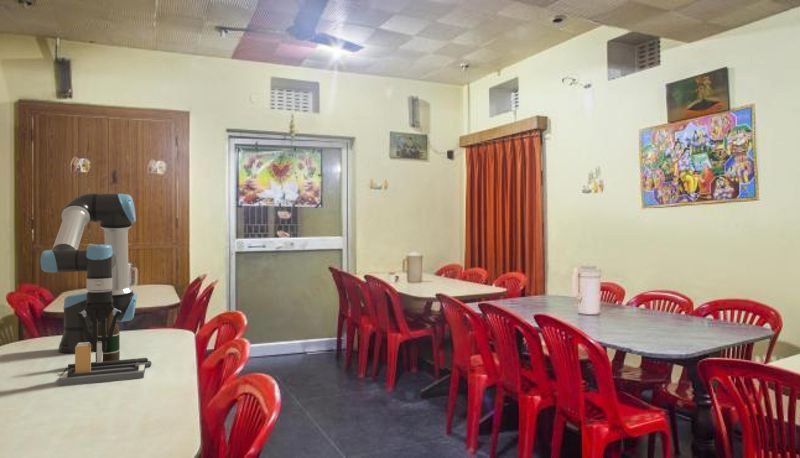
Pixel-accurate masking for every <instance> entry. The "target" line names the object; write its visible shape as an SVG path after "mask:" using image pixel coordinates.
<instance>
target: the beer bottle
mask: <svg viewBox="0 0 800 458" xmlns="http://www.w3.org/2000/svg"><path fill="white" fill-rule="evenodd" d="M112 303H113V299H112ZM113 317H114V316H113V311H112V312H111V313H110V314H109V316H108V317H107V320H106V330H107V336H108V335H109V331H110V328H111V324H112V320H113ZM120 337H121V336H120V327H119V325H118V322H116V326H115V329H114V333H113V337H112V339H111V340H108V341H106V351H105V352H103V361H114V360H120V356H121V355H120V354H121V353H120V352H121V351H120V343H121V342H120ZM98 341H102V322H100V323H98ZM95 362H97V352H95Z"/></svg>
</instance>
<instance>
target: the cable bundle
mask: <svg viewBox="0 0 800 458" xmlns="http://www.w3.org/2000/svg"><path fill="white" fill-rule="evenodd" d="M136 362H139V364H145V368H150V367H152V361H151V360H149V359H148V357H141V358H140V357H138V358H128V359H119V360H114V361H102V362H100V363H97V362H96V361H94V362H93V361H91V368H93V367H105V366H116V365H128V364H136ZM70 368H74V369H75V363H68V365H67V367H65V368H64V369H63V374H64V373H65V372H66V371H68V370H70Z"/></svg>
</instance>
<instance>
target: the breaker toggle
mask: <svg viewBox="0 0 800 458" xmlns="http://www.w3.org/2000/svg"><path fill="white" fill-rule="evenodd" d="M74 357H75V358H74V361H75V362H74V364H75V373H86V372H90V371H91V362H92V351H91V344H89V342H85V343H78V344H77V345H76V347H75V353H74Z"/></svg>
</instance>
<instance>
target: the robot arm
mask: <svg viewBox="0 0 800 458" xmlns="http://www.w3.org/2000/svg"><path fill="white" fill-rule="evenodd" d="M136 218H137V217H136V209H135V205H134V200H133V197H132V196H131V195H130V194H127V193H125V194H124V193H94V192H91V193H90V192H89V193H85V194H82V195H79V196H76V197H75V198H74V199H72V200H71V201H69V202H68V203H67V204H65V206H64V208H63V210H62V212H61V220H62V221H61V224H60V226H59V230H58V233H57V235H56V237H55V241H54V243H53V246H52V249H49V250H48V249H47V250H43V251H42V253H41V255H40V267H41V268H40V269H41V270H42V271H43V272H45V273H55V274H56V273H57V274H58V273H70V272H71V273H73V272H80V273H81V272H86V291H84V292H79V293H74V294H69V295H67V296H66V297H64V301H63V307H62V308H63V334H62V337H61V339H60V342H59V345H58V352H59V353H63V354H75V347H76V345H77V344H78V343H85V342H89V344H91V352H93V353H96V352H97V363H100V362H102V361H103V352H105V351H106V341H108V340H111V339H112V337H113V333H114V329H115V326H116V323H119V322H120V323H122V322H128V321H129V322H130V321H132V320H133V319H134V317H135V312H136V307H137V306H136V305H137V298H138V297H137V296H138V293H135V292H134V289H133V288H132V287H131V286H130V284H129V281H130V279H129V278H130V277H129V275H130V273H129V270H130V269H129V232H128V231H129V230H130V229H131V228H132V226H133V223H136V220H137V219H136ZM89 223H99V228H100V229H102V230H103V232H104V244H89V245H87V247H86V249H79V246H80V243H81V241H82V236H83V233H84V230H85V227H86V226H87V225H88V224H89ZM112 299H113V303H112ZM112 311H113V316H114V317H113V320H112V324H111V328H110V331H109V335H108V336H107V330H106V320H107V317H108V316H109V314H110V313H111V312H112ZM100 322H102V341H98V325H99V323H100Z"/></svg>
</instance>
